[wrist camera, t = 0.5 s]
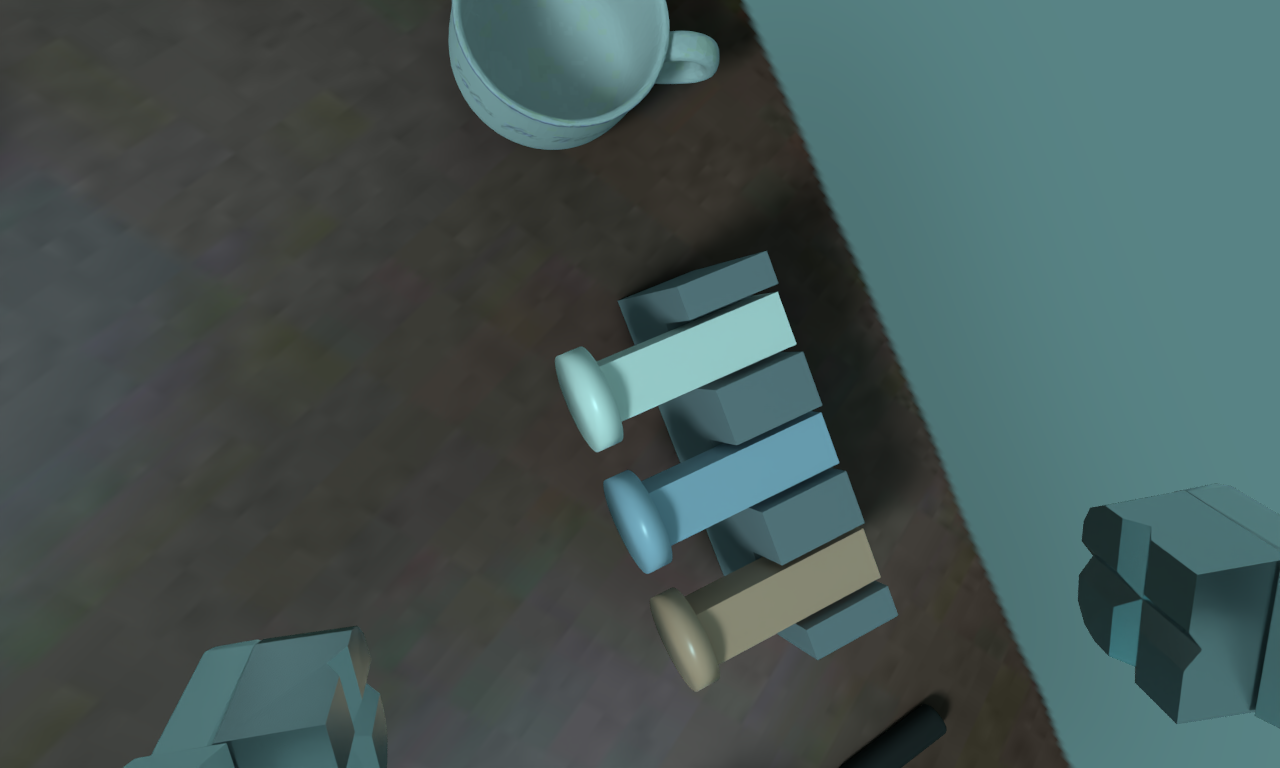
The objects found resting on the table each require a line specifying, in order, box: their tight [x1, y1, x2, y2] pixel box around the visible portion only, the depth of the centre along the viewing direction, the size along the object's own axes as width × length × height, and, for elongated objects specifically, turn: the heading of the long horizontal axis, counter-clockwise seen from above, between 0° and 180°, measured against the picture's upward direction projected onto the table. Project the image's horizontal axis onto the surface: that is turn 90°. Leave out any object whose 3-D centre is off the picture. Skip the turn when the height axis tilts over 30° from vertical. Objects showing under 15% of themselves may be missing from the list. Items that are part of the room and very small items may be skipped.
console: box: [618, 251, 898, 660], centre depth 50 cm, size 20×5×10 cm, turn 22°
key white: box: [555, 292, 796, 452], centre depth 45 cm, size 5×11×5 cm, turn 112°
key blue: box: [603, 411, 839, 574], centre depth 46 cm, size 5×11×5 cm, turn 112°
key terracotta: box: [650, 527, 880, 692], centre depth 47 cm, size 5×11×5 cm, turn 112°
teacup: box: [449, 0, 719, 150], centre depth 48 cm, size 14×11×8 cm
